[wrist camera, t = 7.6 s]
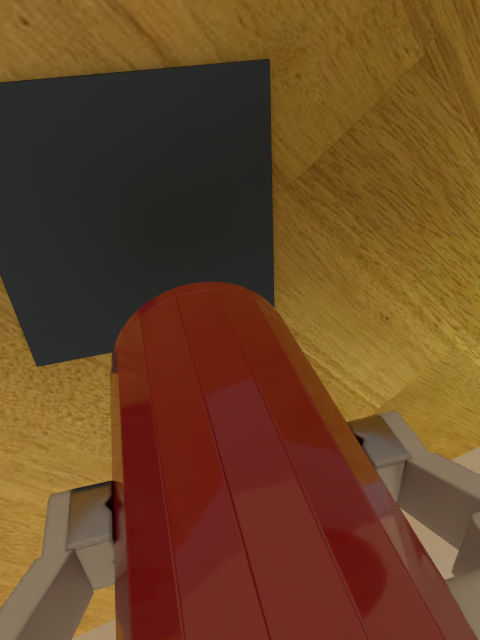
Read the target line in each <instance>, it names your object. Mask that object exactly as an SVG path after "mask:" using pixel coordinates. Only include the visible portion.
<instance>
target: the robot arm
mask: <svg viewBox="0 0 480 640" xmlns="http://www.w3.org/2000/svg"><path fill="white" fill-rule="evenodd" d="M347 424H348V426H349V427H350V429H351V430H352V432H353V434H354V435H355V437H356V439H357V440H358V442H359V443H360V445H361V447H362V448H363V450H364V451H365V453H366V455H367V456H368V458H369V459H370V461H371V463H372V464H373V466H374V468H375V469H376V471H377V472H378V474H379V476H380V477H381V479H382V480H383V482H384V484H385V485H386V487H387V489H388V490H389V492H390V493H391V495H392V497H393V498H394V500H395V501H396V503H397V504H398V506H399V507H400V508H401V509H403V510H404V511H406V512H407V513H408V514H410V515H411V516H413V517H414V518H415V519H417V520H418V521H419V522H421V523H422V524H424V525H425V526H426V527H427V528H429V529H430V530H432V531H433V532H434V533H436V534H437V535H438V536H440V537H441V538H443V539H444V540H445V541H447V542H448V543H449V544H451V545H452V546H454V547H455V548H456V549H458V550H459V552H458V555H457V558H456V560H455V563H454V566H453V569H452V573H453V575H454V576H455V577H452V578H450V579H446V580H445V582H446V584H447V585H448V587H449V590H450V592H451V593H452V595H453V597H454V598H455V600H456V601H457V603H458V605H459V606H460V608H461V610H462V612H463V614H464V616H465V618H466V620H467V622H468V623H469V625H470V627H471V628H472V630H473V631H474V633H475V635H476V636H477V638H478V639H479V640H480V475H479V474H477V473H475V472H473V471H471V470H469V469H467V468H465V467H463V466H461V465H459V464H457V463H455V462H453V461H451V460H449V459H447V458H445V457H443V456H441V455H439V454H437V453H429V451H428V450H427V449H426V448H425V446H424V445H423V444H422V442H421V441H420V440H419V439H418V437H417V436H416V435H415V434H414V432H413V431H412V430H411V428H410V427H409V426H408V425H407V423H406V422H405V421H404V420H403V418H402V417H401V416H400V414H399V413H398V412H396V411H390V412H386V413H382V414H378V415H372V416H368V417H364V418H361V419H357V420H353V421H349V422H347ZM113 584H115V567H114V516H113V481H108V482H103V483H99V484H94V485H90V486H85V487H81V488H76V489H72V490H68V491H63V492H59V493H55V494H51V495H50V498H49V500H48V506H47V515H46V523H45V532H44V541H43V549H42V558H39V559H36V560H35V561H34V562H33V563H32V565H31V566H30V568H29V569H28V571H27V572H26V573H25V575H24V576H23V578H22V579H21V580H20V582H19V583H18V585H17V586H16V588H15V589H14V590H13V592H12V593H11V595H10V596H9V598H8V599H7V600H6V602H5V603H4V605H3V606H2V608H1V609H0V640H71V639H72V637H73V635H74V633H75V631H76V629H77V627H78V625H79V623H80V621H81V619H82V616H83V614H84V612H85V610H86V608H87V606H88V604H89V602H90V600H91V598H92V596H93V591H94V590H97V589H100V588H104V587H107V586H110V585H113Z"/></svg>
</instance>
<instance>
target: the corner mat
mask: <svg viewBox="0 0 480 640" xmlns="http://www.w3.org/2000/svg"><path fill="white" fill-rule="evenodd" d="M0 275H1V278H2V280H3V283H4V285H5V288H6V290H7V293H8V295H9V298H10V300H11V303H12V305H13V308H14V310H15V313H16V315H17V318H18V320H19V323H20V325H21V328H22V330H23V333H24V335H25V338H26V340H27V343H28V345H29V348H30V351H31V353H32V356H33V358H34V361H35V363H36V366H37V367H38V366H44V365H49V364H54V363H59V362H64V361H69V360H75V359H80V358H85V357H90V356H95V355H100V354H105V353H111V352H113V348H114V345H115V342H116V339H117V337H118V335H119V333H120V331H121V330H122V328H123V327H124V325H125V324H126V322H127V321H128V320H129V319H130V318H131V317H132V315H133V314H134V313H135V312H136V311H137V310H138V309H140V308H141V307H142V306H143V305H144V304H146V303H147V302H149V301H150V300H152V299H153V298H155V297H156V296H158V295H160V294H162V293H164V292H166V291H168V290H171V289H174V288H177V287H179V286H183V285H188V284H192V283H200V282H222V283H230V284H234V285H238V286H241V287H244V288H246V289H249V290H251V291H253V292H255V293H257V294H258V295H260V296H262V297H263V298H264V299H265V300H267V301H268V302H269V303H270V304H271V305H272V306H273V308H274V263H273V210H272V157H271V104H270V60H269V59H263V60H252V61H241V62H229V63H218V64H207V65H195V66H184V67H173V68H161V69H150V70H138V71H127V72H116V73H104V74H93V75H82V76H70V77H59V78H48V79H36V80H25V81H13V82H2V83H0Z"/></svg>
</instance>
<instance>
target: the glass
mask: <svg viewBox="0 0 480 640" xmlns="http://www.w3.org/2000/svg"><path fill="white" fill-rule="evenodd" d="M111 364H112V368H111V373H110V398H111V441H112V481H113V516H114V567H115V610H116V640H479V639H478V638H477V636H476V635H475V633H474V631H473V630H472V628H471V627H470V625H469V623H468V622H467V620H466V618H465V616H464V614H463V612H462V610H461V608H460V606H459V605H458V603H457V601H456V600H455V598H454V597H453V595H452V593H451V592H450V590H449V587H448V585H447V584H446V582H445V580H444V579H443V577H442V576H441V574H440V572H439V571H438V569H437V568H436V566H435V564H434V563H433V561H432V559H431V558H430V556H429V555H428V553H427V552H426V550H425V548H424V547H423V545H422V544H421V542H420V540H419V539H418V537H417V535H416V534H415V532H414V531H413V529H412V527H411V526H410V524H409V522H408V521H407V519H406V518H405V516H404V514H403V513H402V511H401V509H400V508H399V506H398V505H397V503H396V501H395V500H394V498H393V497H392V495H391V493H390V492H389V490H388V489H387V487H386V485H385V484H384V482H383V480H382V479H381V477H380V476H379V474H378V472H377V471H376V469H375V468H374V466H373V464H372V463H371V461H370V459H369V458H368V456H367V455H366V453H365V451H364V450H363V448H362V447H361V445H360V443H359V442H358V440H357V439H356V437H355V435H354V434H353V432H352V430H351V429H350V427H349V426H348V424H347V422H346V421H345V419H344V418H343V416H342V414H341V413H340V411H339V409H338V408H337V406H336V405H335V403H334V401H333V400H332V398H331V397H330V395H329V393H328V392H327V390H326V389H325V387H324V385H323V384H322V382H321V380H320V379H319V377H318V376H317V374H316V372H315V371H314V369H313V368H312V366H311V364H310V363H309V361H308V359H307V358H306V356H305V355H304V353H303V351H302V350H301V348H300V347H299V345H298V343H297V342H296V340H295V339H294V337H293V335H292V334H291V332H290V330H289V329H288V327H287V326H286V324H285V322H284V321H283V319H282V318H281V316H280V314H278V312H277V311H276V310H275V309H274V308H273V306H272V305H271V304H270V303H269V302H268V301H267V300H265V299H264V298H263V297H262V296H260V295H258V294H257V293H255V292H253V291H251V290H249V289H246V288H244V287H241V286H238V285H234V284H230V283H222V282H200V283H192V284H188V285H183V286H179V287H177V288H174V289H171V290H168V291H166V292H164V293H162V294H160V295H158V296H156V297H155V298H153V299H152V300H150V301H149V302H147V303H146V304H144V305H143V306H142V307H141V308H140V309H138V310H137V311H136V312H135V313H134V314H133V315H132V317H131V318H130V319H129V320H128V321H127V322H126V324H125V325H124V327H123V328H122V330H121V331H120V333H119V335H118V337H117V339H116V342H115V345H114V348H113V353H112V360H111Z"/></svg>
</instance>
